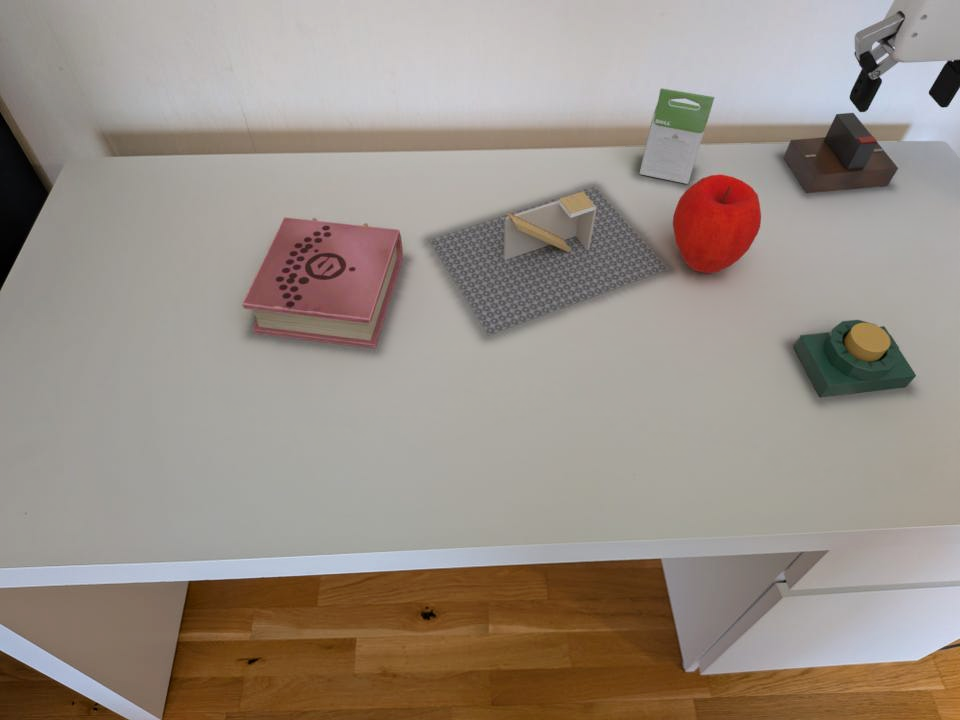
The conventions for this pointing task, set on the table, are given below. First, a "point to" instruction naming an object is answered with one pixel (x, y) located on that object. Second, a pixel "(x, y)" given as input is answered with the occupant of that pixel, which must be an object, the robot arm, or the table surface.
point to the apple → (716, 222)
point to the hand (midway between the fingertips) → (897, 103)
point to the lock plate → (835, 167)
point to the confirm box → (850, 364)
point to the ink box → (675, 135)
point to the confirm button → (867, 342)
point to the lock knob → (850, 141)
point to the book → (326, 282)
